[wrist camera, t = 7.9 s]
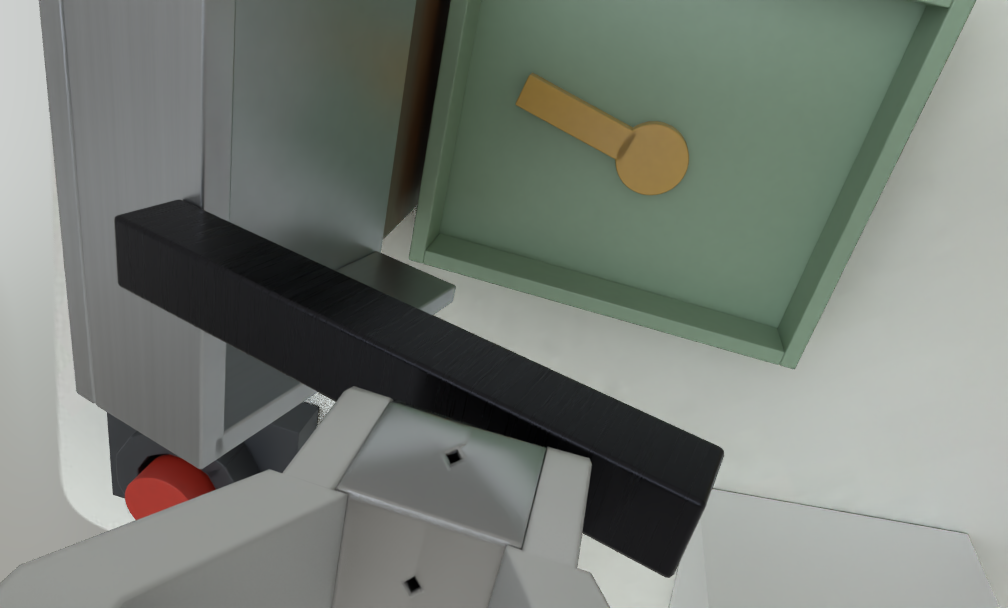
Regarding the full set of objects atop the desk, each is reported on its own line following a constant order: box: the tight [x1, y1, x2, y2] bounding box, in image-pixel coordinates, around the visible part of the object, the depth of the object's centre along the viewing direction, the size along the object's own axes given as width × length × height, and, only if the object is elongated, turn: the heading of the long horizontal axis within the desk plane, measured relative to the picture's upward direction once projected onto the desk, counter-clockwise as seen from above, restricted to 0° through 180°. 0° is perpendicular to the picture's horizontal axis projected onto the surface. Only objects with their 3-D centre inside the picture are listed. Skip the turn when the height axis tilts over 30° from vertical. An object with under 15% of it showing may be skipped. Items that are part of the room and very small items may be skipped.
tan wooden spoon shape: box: [516, 73, 689, 195], centre depth 25 cm, size 7×3×1 cm, turn 64°
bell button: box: [125, 454, 216, 520], centre depth 33 cm, size 4×4×2 cm
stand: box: [383, 0, 451, 239], centre depth 24 cm, size 10×10×6 cm
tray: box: [409, 0, 976, 369], centre depth 25 cm, size 15×13×2 cm
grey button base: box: [107, 402, 319, 498], centre depth 35 cm, size 10×8×4 cm
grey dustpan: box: [39, 0, 724, 578], centre depth 14 cm, size 11×10×12 cm
